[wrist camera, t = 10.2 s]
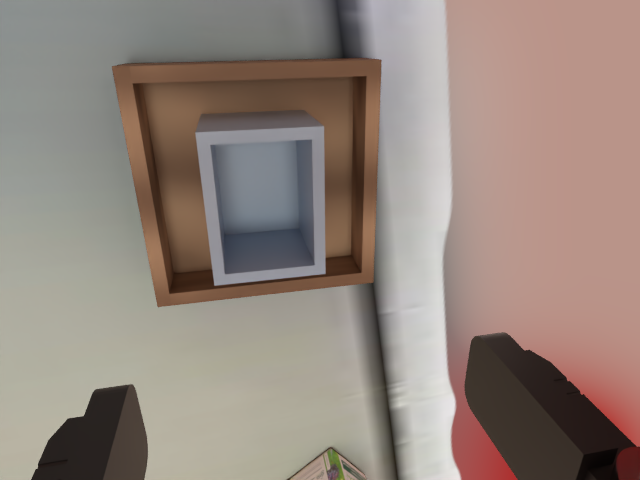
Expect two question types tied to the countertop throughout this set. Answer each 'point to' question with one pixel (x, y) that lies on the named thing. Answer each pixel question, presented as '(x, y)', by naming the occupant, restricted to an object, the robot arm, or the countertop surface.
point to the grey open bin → (263, 194)
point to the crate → (184, 171)
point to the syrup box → (329, 469)
